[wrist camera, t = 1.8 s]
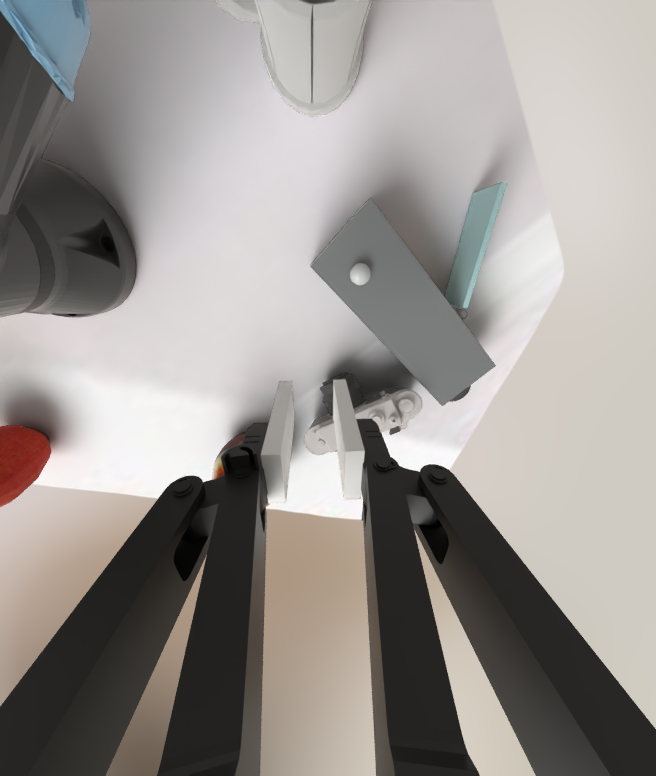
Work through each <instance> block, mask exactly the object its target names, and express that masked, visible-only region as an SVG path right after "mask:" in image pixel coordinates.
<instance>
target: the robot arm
mask: <svg viewBox="0 0 656 776" xmlns="http://www.w3.org/2000/svg"><path fill="white" fill-rule="evenodd" d="M90 34H91V22H90V14H89V10H88V6H87V2H86V0H0V317H4V316H9V315H14V314H19V313H24V312H27V313H36V314H53V315H57V316H64V317H88V316H93V315H96V314H100V313H104V312H107V311H110V310H112V309H114V308H116V307H117V306H119V305H120V304H121V303H122V302H124V300H125V299H126V298H127V297H128V295H129V294H130V292H131V290H132V287H133V284H134V281H135V275H136V261H135V254H134V250H133V246H132V243H131V240H130V237H129V235H128V233H127V230H126V228H125V226H124V225H123V223H122V221H121V219H120V218H119V216H118V215H117V213H116V212H115V210H114V209H113V208H112V206H111V205H110V204H109V203H108V201H107V200H106V199H105V198H104V197H103V196H102V195H101V194H100V193H99V192H98V191H97V190H96V189H95V188H94V187H93V186H92V185H90V184H89V183H88V182H87V181H85V180H84V179H83V178H81V177H80V176H78V175H77V174H75V173H74V172H72V171H70V170H68V169H67V168H65V167H63V166H60V165H58V164H56V163H53V162H50V161H47V160H45V159H42V158H41V157H42V155H43V153H44V151H45V148H46V146H47V144H48V142H49V140H50V138H51V136H52V134H53V131H54V129H55V127H56V125H57V123H58V121H59V119H60V117H61V115H62V112H63V110H64V108H65V106H66V104H67V102H68V100H70V101H71V102H72V101H73V100H74V97H75V93H74V90H73V85H74V82H75V79H76V76H77V73H78V70H79V67H80V64H81V61H82V58H83V55H84V53H85V50H86V47H87V45H88V42H89V38H90ZM333 420H334V428H335V436H336V443H337V451H338V459H339V466H340V474H341V482H342V489H343V497H344V500H351V499H361V492H362V496H363V511H362V520H363V523H364V541H365V542H364V544H365V561H366V562H365V563H366V583H367V602H368V622H369V641H370V659H371V679H372V700H373V718H374V738H375V757H376V776H479V773H478V771H477V769H476V767H475V766H474V764H473V762H472V760H471V759H470V757H469V755H468V752H467V749H466V747H465V744H464V740H463V737H462V733H461V729H460V724H459V720H458V716H457V711H456V707H455V703H454V698H453V694H452V690H451V686H450V681H449V677H448V673H447V669H446V664H445V660H444V656H443V651H442V647H441V643H440V639H439V634H438V630H437V626H436V622H435V617H434V613H433V609H432V605H431V600H430V596H429V592H428V588H427V583H426V579H425V574H424V570H423V566H422V562H421V558H420V553H419V549H418V544H417V540H416V536H415V532H414V529H415V531H416V533H417V535H418V537H419V539H420V541H421V543H422V545H423V547H424V549H425V551H426V553H427V555H428V557H429V560H430V562H431V563H432V565H433V567H434V569H435V572H436V574H437V576H438V578H439V580H440V582H441V584H442V586H443V588H444V590H445V592H446V594H447V596H448V598H449V600H450V602H451V604H452V606H453V608H454V610H455V612H456V614H457V616H458V618H459V620H460V622H461V624H462V626H463V629H464V630H465V632H466V635H467V637H468V639H469V640H470V643H471V645H472V647H473V649H474V651H475V653H476V655H477V657H478V659H479V661H480V663H481V665H482V667H483V669H484V671H485V673H486V675H487V677H488V679H489V681H490V683H491V685H492V687H493V689H494V691H495V693H496V695H497V698H498V700H499V701H500V704H501V706H502V708H503V710H504V712H505V714H506V716H507V718H508V720H509V722H510V724H511V726H512V728H513V730H514V732H515V734H516V736H517V738H518V740H519V742H520V744H521V746H522V748H523V750H524V752H525V754H526V756H527V758H528V760H529V762H530V764H531V767H532V768H533V771H534V773H535V774H536V776H656V729H655V728H654V727H653V725H652V724H651V723H650V722H649V720H648V719H647V718H646V716H645V715H644V714H643V713H642V711H641V710H640V709H639V708H638V706H637V705H636V704H635V703H634V701H633V700H632V699H631V698H630V696H629V695H628V694H627V693H626V691H625V690H624V689H623V687H622V686H621V685H620V684H619V682H618V681H617V680H616V679H615V678H614V676H613V675H612V674H611V672H610V671H609V670H608V669H607V667H606V666H605V665H604V664H603V662H602V661H601V660H600V659H599V657H598V656H597V655H596V653H595V652H594V651H593V650H592V648H591V647H590V646H589V645H588V643H587V642H586V641H585V640H584V638H583V637H582V636H581V635H580V633H579V632H578V631H577V629H575V627H574V626H573V625H572V623H571V622H570V621H569V620H568V618H567V617H566V616H565V615H564V613H563V612H562V611H561V609H560V608H559V607H558V606H557V604H556V603H555V602H554V601H553V600H552V598H551V597H550V595H549V594H548V593H547V592H546V590H545V589H544V588H543V587H542V585H541V584H540V583H539V582H538V580H537V579H536V578H535V577H534V575H533V574H532V573H531V571H530V570H529V569H528V568H527V566H526V565H525V564H524V563H523V561H522V560H521V559H520V558H519V556H518V555H517V554H516V553H515V551H514V550H513V549H512V547H511V546H510V545H509V544H508V542H507V541H506V540H505V539H504V538H503V536H502V535H501V534H500V532H499V531H498V530H497V529H496V527H495V526H494V525H493V524H492V522H491V521H490V520H489V519H488V517H487V516H486V515H485V513H484V512H483V511H482V510H481V508H480V507H479V506H478V505H477V503H476V502H475V501H474V500H473V498H472V497H471V496H470V495H469V493H468V492H467V491H466V489H465V488H464V487H463V486H462V485H461V483H460V482H459V481H458V480H457V478H456V477H455V476H454V474H453V473H451V472H450V471H449V470H448V469H446V468H444V467H442V466H439V465H431V464H429V465H426V466H424V467H423V468H422V469H421V471H420V472H418V471H413V470H409V469H405V468H402V467H400V466H399V465H398V463H397V462H396V461H395V460H394V459H393V458H391V457H390V455H389V452H388V449H387V447H386V444H385V442H384V439H383V437H382V434H381V432H380V429H379V426H378V424H377V423H376V422H375V421H374V420H373V419H372V418H371V419H356V417H355V413H354V409H353V405H352V402H351V398H350V394H349V390H348V387H347V383H346V379H343V380H333ZM294 421H295V414H294V401H293V387H292V381H279V385H278V389H277V393H276V397H275V401H274V405H273V409H272V413H271V417H270V420H269V423H254V424H253V425H252V426H251V427H250V428H249V429H248V430H247V432H246V435H245V438H244V441H243V443H242V445H238V446H234V447H232V448H230V449H228V450H227V451H226V452H225V453H223V455H222V457H221V461H222V465H223V469H224V473H225V475H223V476H222V477H219V478H217V479H213V480H210V481H206V482H202V479H200V478H199V477H197V476H185V477H182V478H180V479H177V480H176V481H174V482H173V483H171V484H170V485H169V486H168V487H167V488H166V489H165V491H164V492H163V493H162V495H161V496H160V497H159V499H158V500H157V501H156V503H155V504H154V505H153V507H152V508H151V509H150V510H149V512H148V513H147V514H146V516H145V517H144V518H143V520H142V521H141V522H140V524H139V525H138V526H137V528H136V529H135V530H134V531H133V533H132V534H131V535H130V537H129V538H128V539H127V541H126V542H125V543H124V545H123V546H122V547H121V549H120V550H119V551H118V552H117V554H116V555H115V556H114V558H113V559H112V560H111V562H110V563H109V564H108V566H107V567H106V568H105V570H104V571H103V572H102V574H101V575H100V576H99V577H98V579H97V580H96V581H95V583H94V584H93V585H92V587H91V588H90V589H89V591H88V592H87V593H86V595H85V596H84V597H83V598H82V600H81V601H80V603H79V604H78V605H77V607H76V608H75V609H74V611H73V612H72V613H71V614H70V616H69V617H68V618H67V620H66V621H65V622H64V624H63V625H62V626H61V628H60V629H59V630H58V631H57V633H56V634H55V635H54V637H53V638H52V639H51V641H50V642H49V643H48V645H47V646H46V647H45V648H44V650H43V651H42V652H41V654H40V655H39V656H38V658H37V659H36V660H35V662H34V663H33V664H32V666H31V667H30V668H29V669H28V671H27V672H26V674H25V675H24V676H23V677H22V679H21V680H20V682H19V683H18V684H17V685H16V687H15V688H14V689H13V691H12V692H11V693H10V695H9V696H8V697H7V699H6V700H5V701H4V703H3V704H2V705H1V706H0V776H105V775H106V773H107V771H108V769H109V766H110V764H111V762H112V760H113V758H114V756H115V753H116V751H117V749H118V747H119V745H120V742H121V740H122V738H123V736H124V734H125V732H126V729H127V727H128V725H129V723H130V721H131V718H132V716H133V714H134V712H135V710H136V707H137V705H138V703H139V701H140V699H141V697H142V694H143V692H144V690H145V688H146V686H147V684H148V681H149V679H150V677H151V675H152V673H153V670H154V668H155V666H156V664H157V661H158V660H159V657H160V655H161V653H162V651H163V649H164V646H165V644H166V642H167V640H168V638H169V635H170V633H171V631H172V629H173V627H174V625H175V622H176V620H177V618H178V616H179V614H180V612H181V609H182V607H183V605H184V603H185V601H186V598H187V596H188V594H189V592H190V590H191V588H192V585H193V583H194V581H195V579H196V577H197V574H198V572H199V570H200V568H201V566H202V563H203V561H204V559H205V557H206V555H207V557H206V561H205V566H204V570H203V575H202V579H201V584H200V588H199V593H198V597H197V602H196V607H195V611H194V615H193V620H192V624H191V629H190V633H189V638H188V642H187V647H186V651H185V656H184V660H183V665H182V669H181V675H180V678H179V683H178V687H177V692H176V696H175V701H174V706H173V710H172V714H171V719H170V723H169V728H168V732H167V737H166V741H165V746H164V750H163V755H162V760H161V763H160V767H159V771H158V775H157V776H260V748H261V711H262V708H261V707H262V673H263V636H264V632H263V631H264V597H265V560H266V523H267V512H266V500H267V498H268V504H270V503H286V497H287V488H288V478H289V469H290V459H291V450H292V440H293V431H294Z"/></svg>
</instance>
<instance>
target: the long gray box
mask: <svg viewBox="0 0 656 776" xmlns="http://www.w3.org/2000/svg"><path fill="white" fill-rule="evenodd" d="M311 268H312V269H313V270H314V271H315V272H316V273H317V274H318V275H319V276H320V277H321V278H322V279H323V280H324V281H325V282H326V283H327V285H328V286H329V287H330V288H331V289H332V290H333V291H334V292H335V293H336V294H337V295H338V296H339V297H340V298H341V299H342V300H343V301H344V303H345V304H346V305H347V306H348V307H349V308H350V309H351V310H352V311H353V312H354V313H355V314H356V315H357V316H358V317H359V318H360V319H361V321H362V322H363V323H364V324H365V325H366V326H367V327H368V328H369V329H370V330H371V331H372V332H373V333H374V334H375V335H376V336H377V337H378V339H379V340H380V341H381V342H382V343H383V344H384V345H385V346H386V347H387V348H388V349H389V350H390V351H391V352H392V353H393V354H394V355H395V357H396V358H397V359H398V360H399V361H400V362H401V363H402V364H403V365H404V366H405V367H406V368H407V369H408V370H409V371H410V372H411V373H412V375H413V376H414V377H415V378H416V379H417V380H418V381H419V382H420V383H421V384H422V385H423V386H424V387H425V388H426V389H427V390H428V391H429V392H430V394H431V395H432V396H433V397H434V398H435V399H436V400H437V401H438V402H439V403H440V404H441V405H442V406H443V405H445V404H446V403H447V402H449V401H457V400H459V399H461V398H463V397H464V396H465V395H466V394H467V393H468V392H469V390H470V387H471V384H472V383H474V382H475V381H476V380H478V379H479V378H480V377H482V376H483V375H484V374H486V373H487V372H488V371H490V370H491V369H492V368H494V367H495V366H496V365H495V364H494V363H493V361H492V360H491V359H490V357H489V356H488V354H487V353H486V352H485V350H484V349H483V348H482V346H481V345H480V344H479V342H478V341H477V340H476V338H475V337H474V336H473V334H472V333H471V332H470V330H469V329H468V328H467V326H466V325H465V324H464V322H463V321H462V320H461V318H460V317H459V316H458V314H457V313H456V312H455V310H454V309H453V308H452V306H451V305H450V304H449V302H448V301H447V300H446V298H445V297H444V296H443V294H442V293H441V292H440V290H439V289H438V288H437V286H436V285H435V284H434V282H433V281H432V279H431V278H430V277H429V275H428V274H427V273H426V271H425V270H424V269H423V267H422V266H421V265H420V263H419V262H418V261H417V259H416V258H415V257H414V255H413V254H412V253H411V251H410V250H409V249H408V247H407V246H406V245H405V243H404V242H403V241H402V239H401V238H400V237H399V235H398V234H397V233H396V231H395V230H394V229H393V227H392V226H391V225H390V223H389V222H388V221H387V219H386V218H385V217H384V215H383V214H382V213H381V211H380V210H379V209H378V207H377V206H376V204H375V203H374V202H373V200H372V199H371V198H370V199H369V200H368V201H367V202H366V203H365V204H364V205H363V206H361V207H360V208H359V210H358V211H357V212H356V213H355V214H354V215H353V217H352V218H351V219H350V220H349V221H348V222H347V223H346V225H345V226H344V227H343V228H342V229H341V230H340V231H339V233H338V234H337V235H336V236H335V237H334V238H333V240H332V241H331V242H330V243H329V244H328V245H327V246H326V248H325V249H324V250H323V251H322V252H321V253H320V254H319V256H318V257H317V258H316V259H315V260H314V261H313V263H312V264H311Z"/></svg>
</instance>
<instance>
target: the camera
mask: <svg viewBox="0 0 656 776" xmlns="http://www.w3.org/2000/svg"><path fill="white" fill-rule="evenodd" d="M343 379H346V383H347V387H348V390H349V394H350V398H351V402H352V405H353V409H354V413H355V417H356V419H371V418H372V419H373V420H374V421H375V422H376V423H377V424H378V426H379V429H380V432H384V431H386V430H389V429H390V433H389V434H390V435H392V434H394V433H397V432H399V431H400V430H401V429H406V428H407V426H408V420H409V419H411V418H413V417H415V416H416V415H418V413H419V412H420V411H421V409H422V399H421V397H420V396H419V395H418V394H417V393H416V392H414V391H412V390H408V389H405V388H402V387H399V386H393V387H391V388H388V389H386V390H384V391H381V392H379V393H377V394H374V395H372V396H369V397H367V398H365V397H364V396H363V395H362V393H361V390H360V388H361V386H360V385H359V384H358V383H356V382H355V380H354V378H353V374H350V375H348V374H347V372H346V373H344V374H342V375H339V376H338V377H335V378H333V379H331V380H328V381H326V382H324V383H323V386H322V387H320V390H321V391H322V393H323V395H324V397H323V403H326V405H327V408H328V413H329V414H327V415H325V416H322V417H320V418H318V419H316V420H315V421H314V422H313V424H312V425H311V427H310V428H309V430H308V431H307V433H306V434H305V438H304V443H305V446H306V448H307V449H308V451H310V452H311V453H313V454H315V455H322V454H325V453H328V452H331V453H332V452H334V451H335V452H336V451H337V443H336V436H335V428H334V420H333V380H343ZM402 422H403V425H401V424H402ZM399 425H401V426H399Z"/></svg>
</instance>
